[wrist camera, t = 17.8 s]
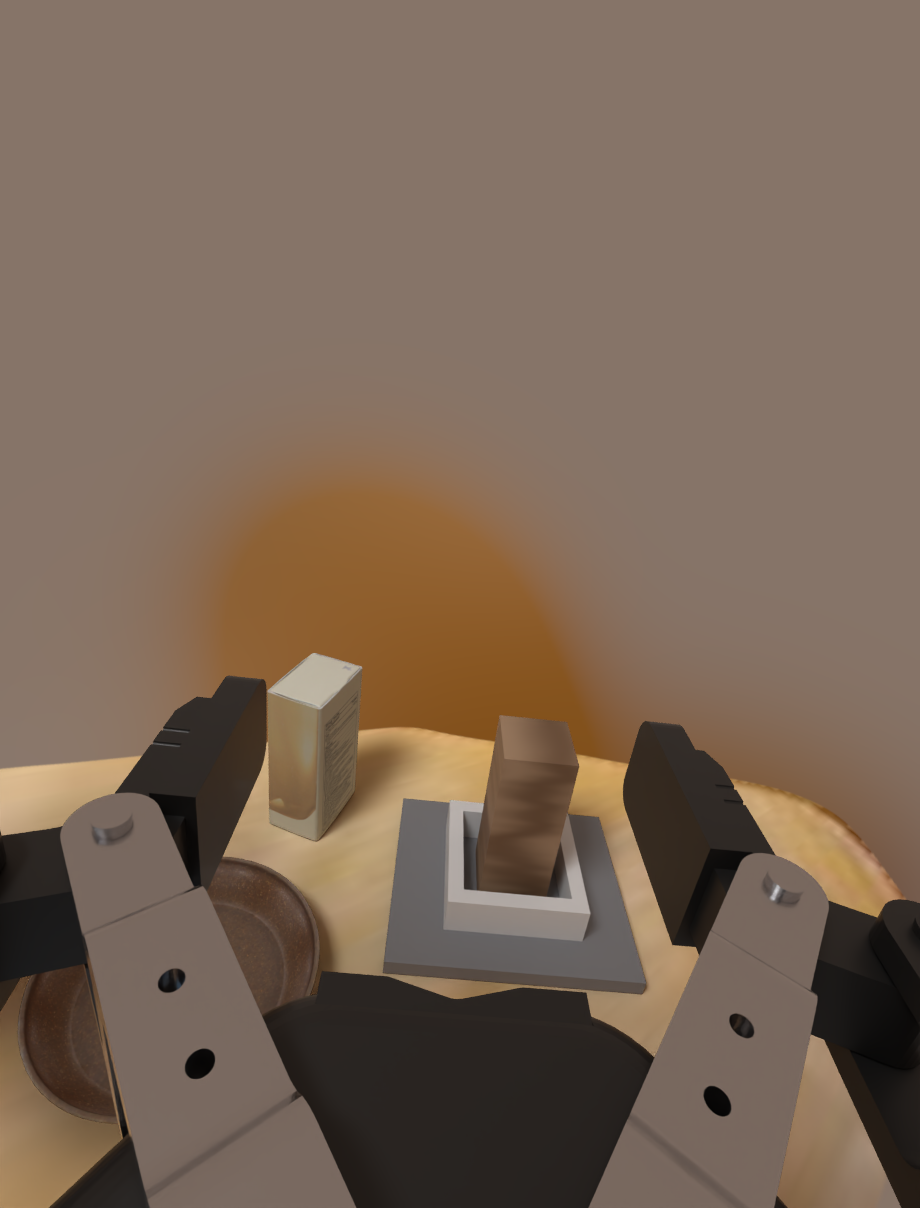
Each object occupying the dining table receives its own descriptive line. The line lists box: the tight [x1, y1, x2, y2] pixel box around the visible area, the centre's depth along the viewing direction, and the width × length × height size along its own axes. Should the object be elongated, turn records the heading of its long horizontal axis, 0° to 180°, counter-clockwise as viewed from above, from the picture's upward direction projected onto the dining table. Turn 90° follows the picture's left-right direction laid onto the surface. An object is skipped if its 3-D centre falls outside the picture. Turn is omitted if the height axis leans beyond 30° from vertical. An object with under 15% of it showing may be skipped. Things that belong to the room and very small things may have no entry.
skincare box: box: [268, 653, 362, 841], centre depth 46 cm, size 6×4×12 cm
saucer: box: [18, 857, 320, 1124], centre depth 34 cm, size 15×15×3 cm
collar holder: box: [383, 798, 646, 994], centre depth 43 cm, size 16×14×4 cm
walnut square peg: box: [475, 715, 579, 897], centre depth 41 cm, size 4×4×12 cm
